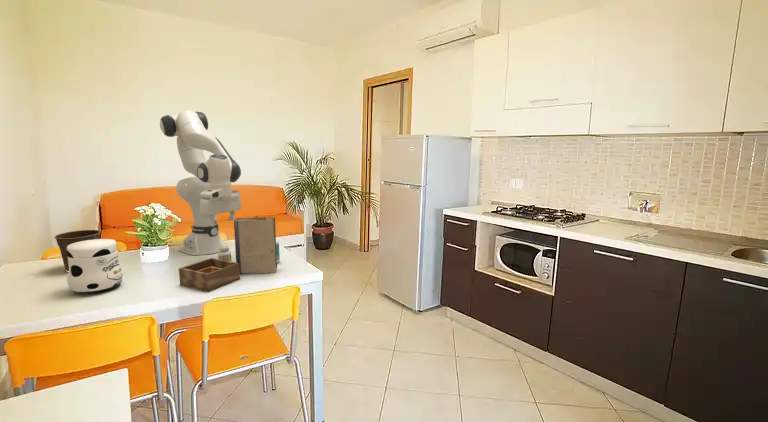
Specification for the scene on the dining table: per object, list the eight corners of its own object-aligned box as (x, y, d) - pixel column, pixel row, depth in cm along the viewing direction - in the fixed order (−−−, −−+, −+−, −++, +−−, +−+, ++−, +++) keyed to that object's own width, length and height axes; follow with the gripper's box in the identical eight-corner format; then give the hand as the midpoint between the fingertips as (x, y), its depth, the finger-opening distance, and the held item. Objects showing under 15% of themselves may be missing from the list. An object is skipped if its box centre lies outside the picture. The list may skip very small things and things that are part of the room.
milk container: (128, 289, 154) (123, 244, 151) (71, 301, 142) (65, 252, 139) (118, 277, 166) (114, 236, 163) (66, 287, 155) (60, 243, 151)
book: (277, 268, 181) (275, 214, 177) (275, 273, 174) (273, 217, 170) (238, 269, 178) (235, 215, 174) (235, 274, 172) (232, 218, 168)
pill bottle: (282, 260, 193) (281, 233, 190) (276, 265, 185) (275, 237, 183) (267, 260, 193) (266, 233, 191) (261, 264, 186) (259, 236, 184)
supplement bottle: (226, 265, 184) (224, 245, 182) (234, 267, 182) (233, 246, 180) (216, 268, 179) (215, 247, 178) (224, 270, 177) (223, 249, 175)
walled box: (180, 285, 159) (178, 268, 158) (212, 273, 173) (211, 258, 172) (208, 291, 152) (207, 274, 151) (240, 279, 166) (239, 263, 165)
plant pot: (50, 275, 168) (45, 238, 165) (72, 264, 183) (67, 230, 181) (93, 273, 171) (89, 237, 168) (111, 262, 186) (107, 229, 184)
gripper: (233, 189, 185) (235, 218, 188) (196, 194, 167) (198, 226, 169) (243, 189, 182) (245, 219, 185) (207, 195, 164) (209, 227, 167)
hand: (222, 222), depth 177 cm, fingers open, 8 cm apart
